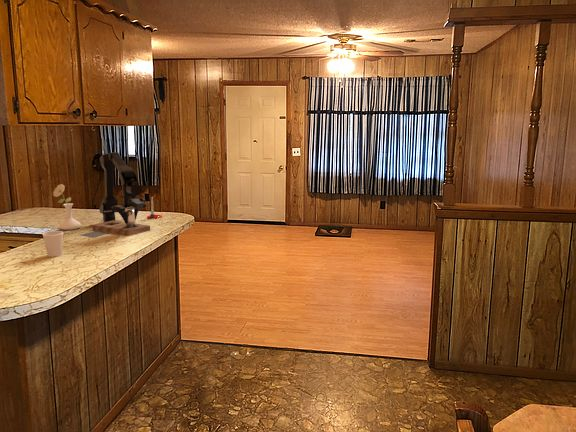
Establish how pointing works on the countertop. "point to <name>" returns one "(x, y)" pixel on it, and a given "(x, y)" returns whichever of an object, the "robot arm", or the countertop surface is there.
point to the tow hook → (153, 211)
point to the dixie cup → (53, 242)
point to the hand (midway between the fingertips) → (130, 222)
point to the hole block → (120, 228)
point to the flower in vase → (69, 221)
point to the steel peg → (131, 218)
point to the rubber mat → (94, 234)
